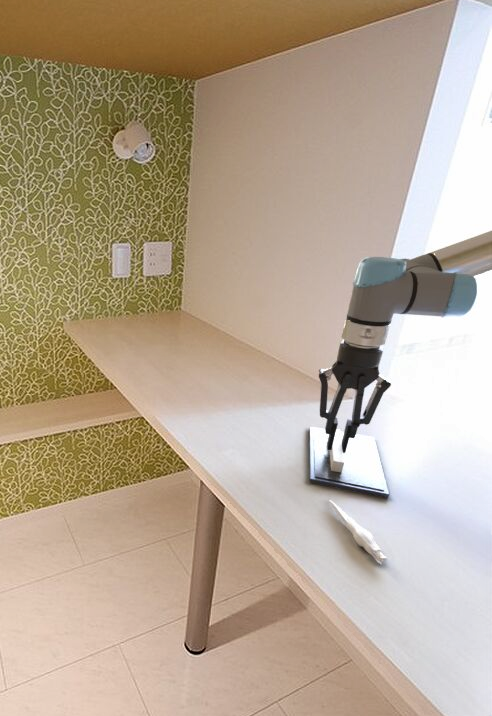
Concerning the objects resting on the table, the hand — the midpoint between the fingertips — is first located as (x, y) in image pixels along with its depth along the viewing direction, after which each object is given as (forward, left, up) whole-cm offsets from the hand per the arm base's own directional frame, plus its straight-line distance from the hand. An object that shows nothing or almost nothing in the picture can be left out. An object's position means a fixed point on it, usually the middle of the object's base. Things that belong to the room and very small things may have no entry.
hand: (336, 448), depth 92 cm
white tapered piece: (-2, +23, -3) cm, 23 cm away
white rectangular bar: (0, 0, -1) cm, 1 cm away
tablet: (-2, 0, -3) cm, 3 cm away
